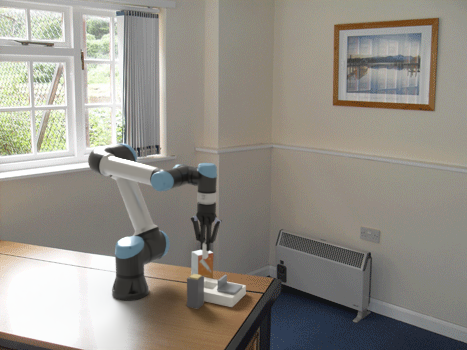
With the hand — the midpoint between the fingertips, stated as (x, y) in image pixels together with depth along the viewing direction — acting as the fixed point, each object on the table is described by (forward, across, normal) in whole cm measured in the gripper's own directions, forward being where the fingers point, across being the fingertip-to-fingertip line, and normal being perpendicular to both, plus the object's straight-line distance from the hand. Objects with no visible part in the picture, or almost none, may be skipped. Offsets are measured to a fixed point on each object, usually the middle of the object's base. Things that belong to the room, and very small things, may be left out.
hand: (205, 257), depth 217 cm
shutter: (+14, +10, +4) cm, 17 cm away
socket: (+18, +4, +5) cm, 19 cm away
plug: (+18, -1, -7) cm, 19 cm away
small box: (+19, -9, +18) cm, 28 cm away
